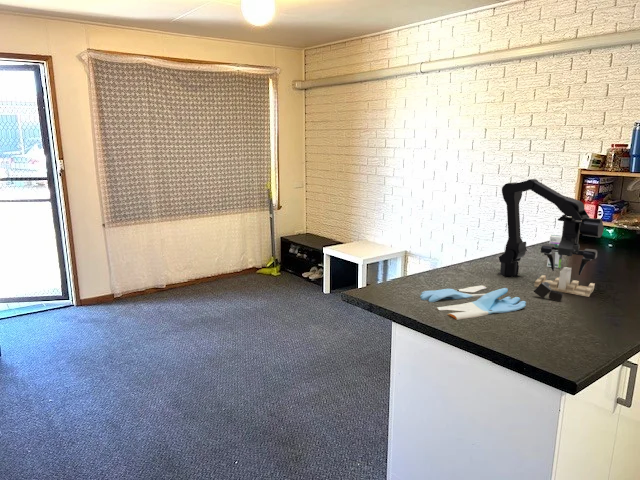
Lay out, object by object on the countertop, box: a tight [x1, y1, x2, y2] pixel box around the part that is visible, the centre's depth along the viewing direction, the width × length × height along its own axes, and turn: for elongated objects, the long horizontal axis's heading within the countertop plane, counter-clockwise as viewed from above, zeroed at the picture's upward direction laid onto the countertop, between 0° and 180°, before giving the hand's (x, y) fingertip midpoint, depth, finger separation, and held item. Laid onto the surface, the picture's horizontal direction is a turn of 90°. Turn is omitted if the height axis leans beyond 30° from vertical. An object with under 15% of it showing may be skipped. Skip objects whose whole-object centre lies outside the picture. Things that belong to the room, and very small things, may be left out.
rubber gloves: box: [419, 284, 527, 321], centre depth 165 cm, size 27×33×6 cm
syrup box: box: [546, 234, 563, 269], centre depth 213 cm, size 6×6×14 cm
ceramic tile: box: [558, 266, 573, 290], centre depth 181 cm, size 2×8×7 cm, turn 142°
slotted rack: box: [533, 274, 596, 298], centre depth 181 cm, size 12×19×2 cm, turn 52°
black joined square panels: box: [533, 282, 564, 302], centre depth 168 cm, size 9×2×6 cm
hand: (566, 272), depth 180 cm, fingers open, 9 cm apart
